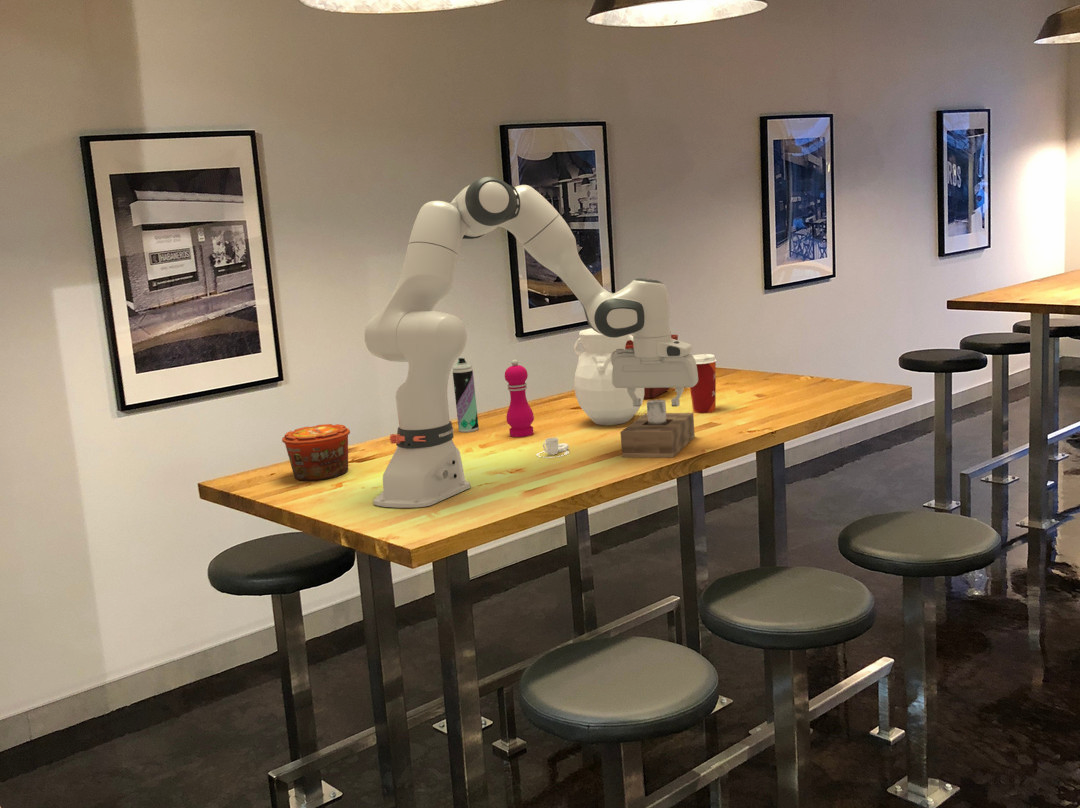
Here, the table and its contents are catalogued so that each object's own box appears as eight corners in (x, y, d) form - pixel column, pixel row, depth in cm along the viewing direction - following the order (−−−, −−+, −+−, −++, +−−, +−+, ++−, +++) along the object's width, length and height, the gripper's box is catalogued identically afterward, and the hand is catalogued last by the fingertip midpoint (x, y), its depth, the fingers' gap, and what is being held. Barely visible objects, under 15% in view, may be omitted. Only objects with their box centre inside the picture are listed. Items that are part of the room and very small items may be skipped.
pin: (665, 445, 248) (662, 403, 246) (647, 444, 249) (644, 403, 247) (670, 440, 252) (667, 399, 250) (652, 440, 253) (649, 399, 251)
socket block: (672, 457, 239) (671, 432, 238) (622, 457, 244) (620, 431, 243) (694, 436, 257) (693, 412, 256) (647, 436, 262) (645, 413, 261)
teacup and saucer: (565, 449, 259) (563, 433, 258) (577, 455, 251) (576, 438, 251) (531, 455, 256) (530, 438, 255) (543, 461, 248) (541, 444, 248)
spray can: (455, 432, 288) (447, 359, 284) (465, 427, 293) (458, 356, 289) (472, 432, 285) (464, 359, 282) (482, 428, 290) (475, 356, 286)
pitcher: (569, 430, 277) (561, 336, 273) (587, 415, 295) (579, 326, 290) (639, 428, 272) (632, 332, 267) (652, 413, 289) (646, 322, 284)
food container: (274, 478, 254) (268, 435, 252) (328, 462, 265) (323, 421, 263) (313, 486, 243) (307, 441, 241) (368, 469, 255) (362, 426, 253)
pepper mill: (532, 437, 273) (525, 361, 269) (505, 438, 275) (497, 362, 271) (537, 430, 280) (531, 356, 276) (511, 432, 282) (504, 358, 278)
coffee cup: (725, 410, 284) (722, 355, 281) (698, 415, 281) (695, 359, 278) (709, 406, 292) (706, 352, 289) (683, 410, 289) (679, 356, 286)
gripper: (606, 350, 247) (610, 408, 250) (691, 348, 239) (694, 408, 241) (614, 346, 253) (618, 403, 255) (698, 344, 245) (701, 403, 247)
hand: (656, 406), depth 248 cm, fingers open, 8 cm apart
